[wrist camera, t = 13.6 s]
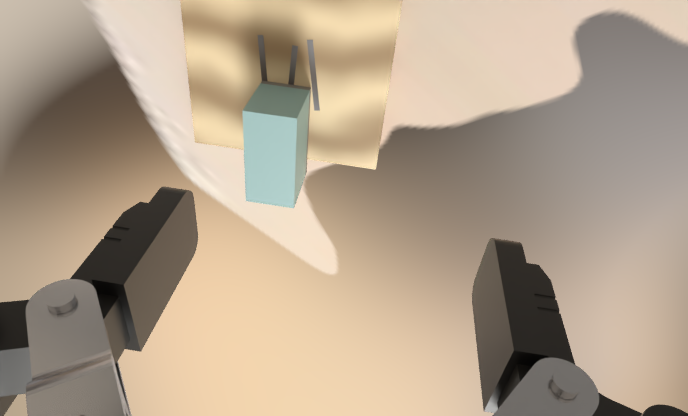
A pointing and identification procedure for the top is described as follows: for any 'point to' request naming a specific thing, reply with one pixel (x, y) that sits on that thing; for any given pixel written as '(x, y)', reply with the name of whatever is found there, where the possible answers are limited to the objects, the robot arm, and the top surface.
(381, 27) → the board
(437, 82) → the top surface
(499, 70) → the top surface
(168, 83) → the top surface
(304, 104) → the block
